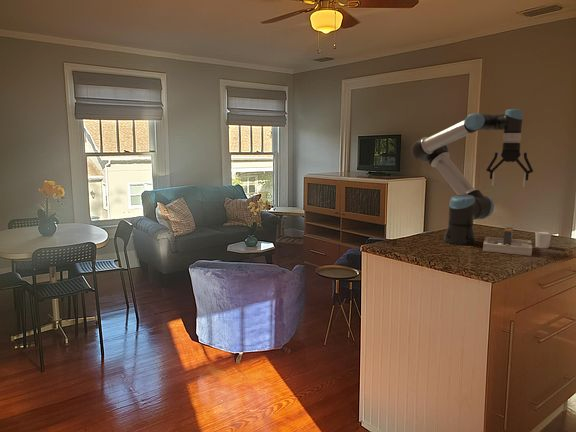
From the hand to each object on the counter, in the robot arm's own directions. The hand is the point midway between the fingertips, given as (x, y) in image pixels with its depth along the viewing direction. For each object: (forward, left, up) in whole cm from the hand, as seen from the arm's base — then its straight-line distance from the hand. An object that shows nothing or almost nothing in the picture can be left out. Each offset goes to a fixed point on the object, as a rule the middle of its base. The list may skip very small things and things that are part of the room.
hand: (508, 186), depth 218 cm
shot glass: (+17, +3, -29) cm, 34 cm away
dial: (+2, -11, -26) cm, 29 cm away
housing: (+2, -11, -29) cm, 31 cm away
